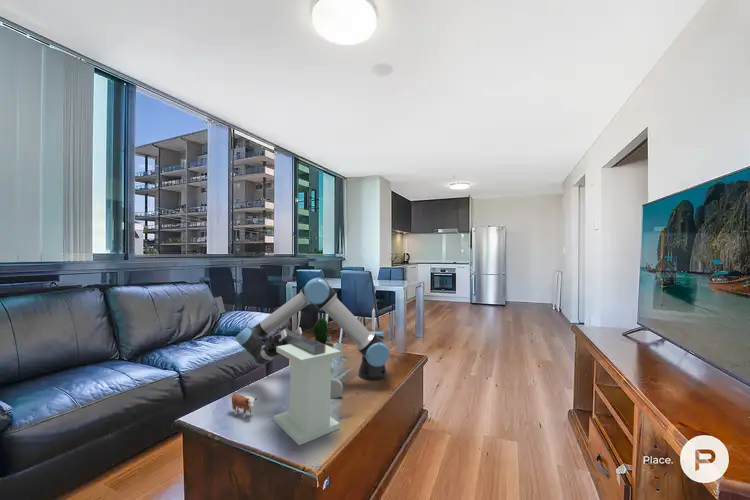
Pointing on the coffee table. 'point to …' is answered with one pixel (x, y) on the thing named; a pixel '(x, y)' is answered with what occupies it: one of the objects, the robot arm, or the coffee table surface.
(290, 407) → the stand
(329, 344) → the potted cactus
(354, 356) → the coffee table surface
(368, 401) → the coffee table surface
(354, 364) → the coffee table surface
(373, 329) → the candlestick
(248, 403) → the bull figurine
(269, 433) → the coffee table surface
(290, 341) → the bar
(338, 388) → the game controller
